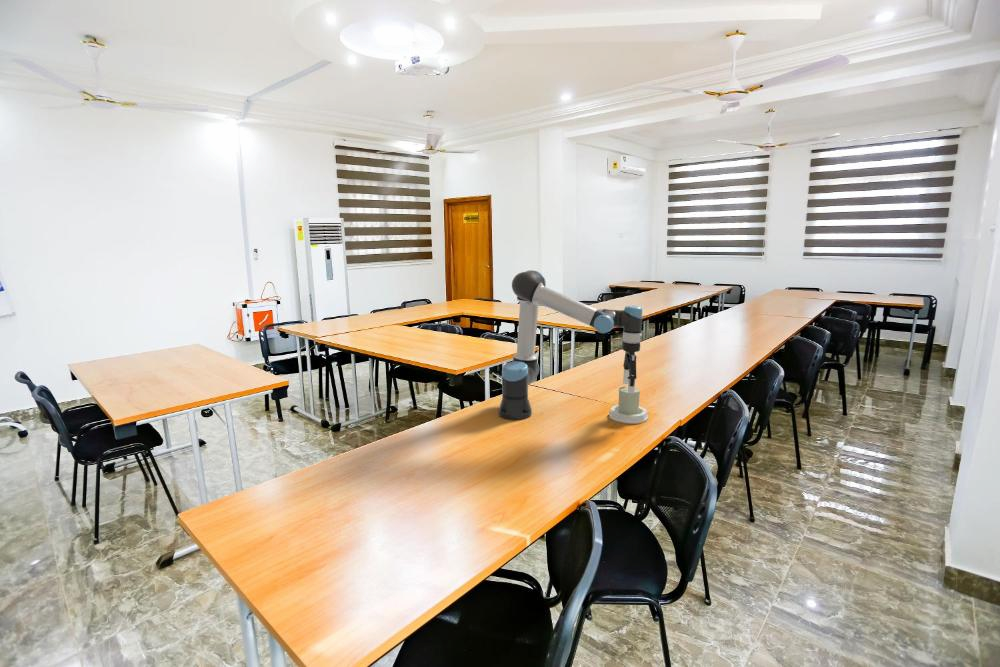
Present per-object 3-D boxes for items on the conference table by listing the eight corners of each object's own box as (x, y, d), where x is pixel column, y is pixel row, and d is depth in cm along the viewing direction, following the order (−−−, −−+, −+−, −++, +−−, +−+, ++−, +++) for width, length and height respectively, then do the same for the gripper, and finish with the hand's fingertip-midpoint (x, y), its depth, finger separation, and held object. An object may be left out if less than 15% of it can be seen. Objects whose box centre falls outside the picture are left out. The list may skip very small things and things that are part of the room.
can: (613, 412, 225) (614, 387, 222) (629, 409, 228) (630, 384, 226) (626, 419, 216) (627, 392, 214) (643, 415, 220) (644, 389, 218)
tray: (611, 423, 215) (611, 416, 214) (607, 409, 232) (607, 403, 231) (651, 424, 213) (651, 417, 213) (644, 410, 230) (644, 404, 229)
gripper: (645, 348, 203) (642, 397, 208) (635, 336, 228) (632, 380, 232) (627, 347, 204) (624, 396, 208) (618, 335, 228) (616, 379, 233)
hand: (628, 388), depth 220 cm, fingers open, 13 cm apart
